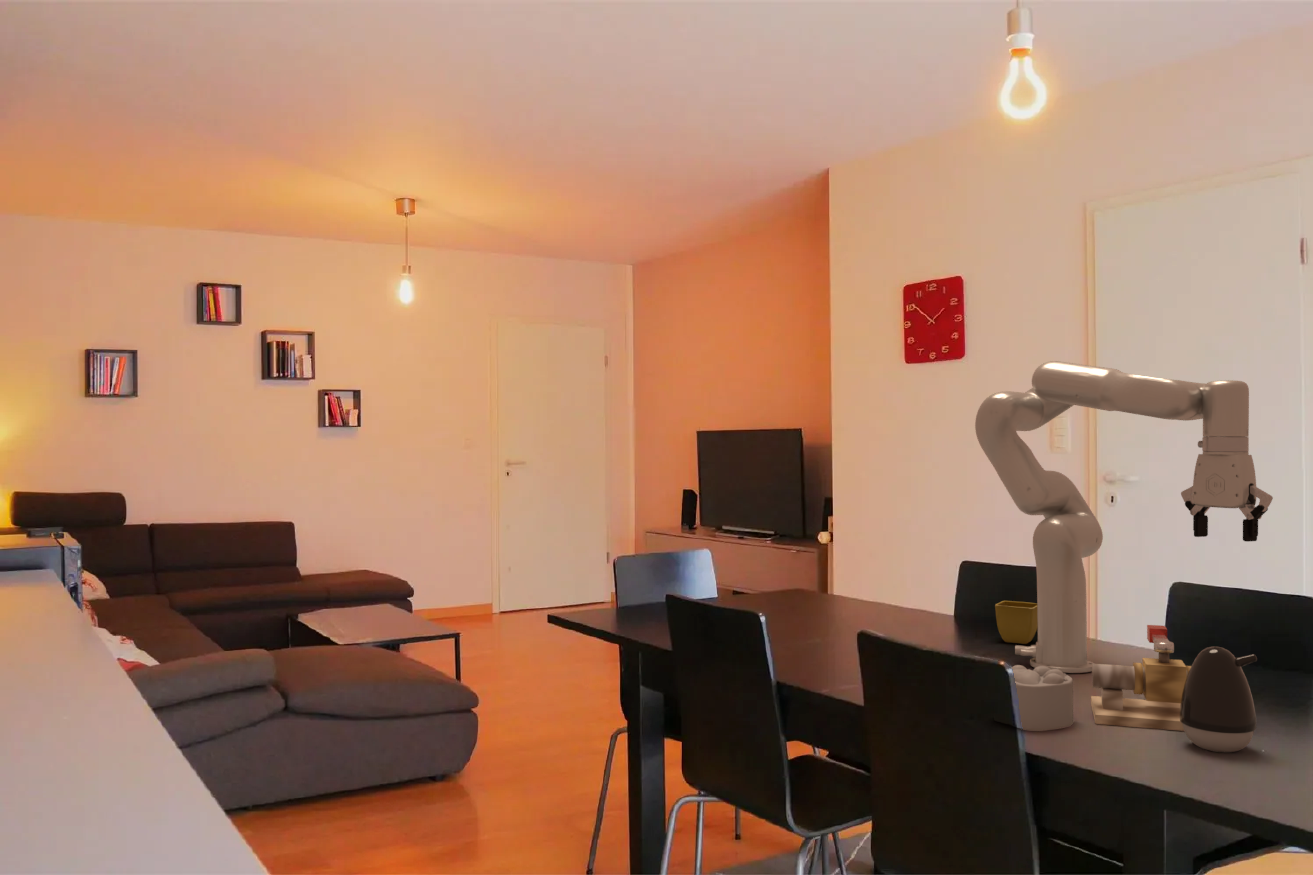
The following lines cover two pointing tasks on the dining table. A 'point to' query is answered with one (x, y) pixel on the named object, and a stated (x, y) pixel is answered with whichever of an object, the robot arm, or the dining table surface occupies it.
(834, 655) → the dining table surface
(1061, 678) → the lumpy-topped squat cylinder
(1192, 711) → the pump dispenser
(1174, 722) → the valve bench
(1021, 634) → the flower pot
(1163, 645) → the valve lever
